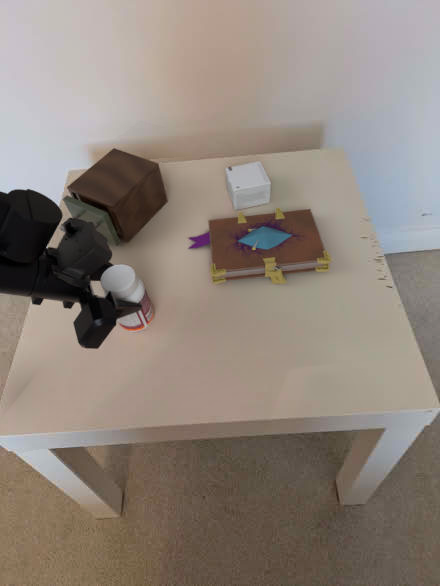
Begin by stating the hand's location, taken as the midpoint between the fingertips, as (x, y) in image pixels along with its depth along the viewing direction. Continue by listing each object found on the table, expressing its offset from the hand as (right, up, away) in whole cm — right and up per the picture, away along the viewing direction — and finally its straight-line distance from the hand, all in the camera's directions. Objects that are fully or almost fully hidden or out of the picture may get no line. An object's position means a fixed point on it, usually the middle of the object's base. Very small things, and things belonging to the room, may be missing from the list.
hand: (134, 292), depth 58 cm
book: (+20, +7, +12) cm, 24 cm away
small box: (+19, +21, +21) cm, 35 cm away
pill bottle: (-1, -4, +5) cm, 7 cm away
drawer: (-9, +14, +18) cm, 24 cm away
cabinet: (-6, +17, +21) cm, 27 cm away
